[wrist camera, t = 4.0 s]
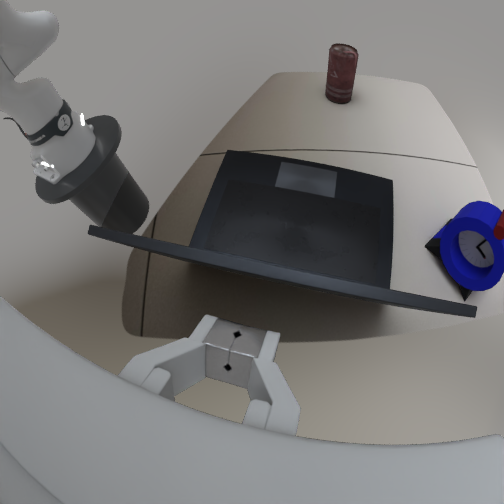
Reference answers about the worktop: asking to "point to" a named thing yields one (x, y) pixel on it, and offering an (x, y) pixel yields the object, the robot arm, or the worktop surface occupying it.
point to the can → (341, 73)
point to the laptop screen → (286, 274)
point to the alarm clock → (472, 247)
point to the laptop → (300, 217)
